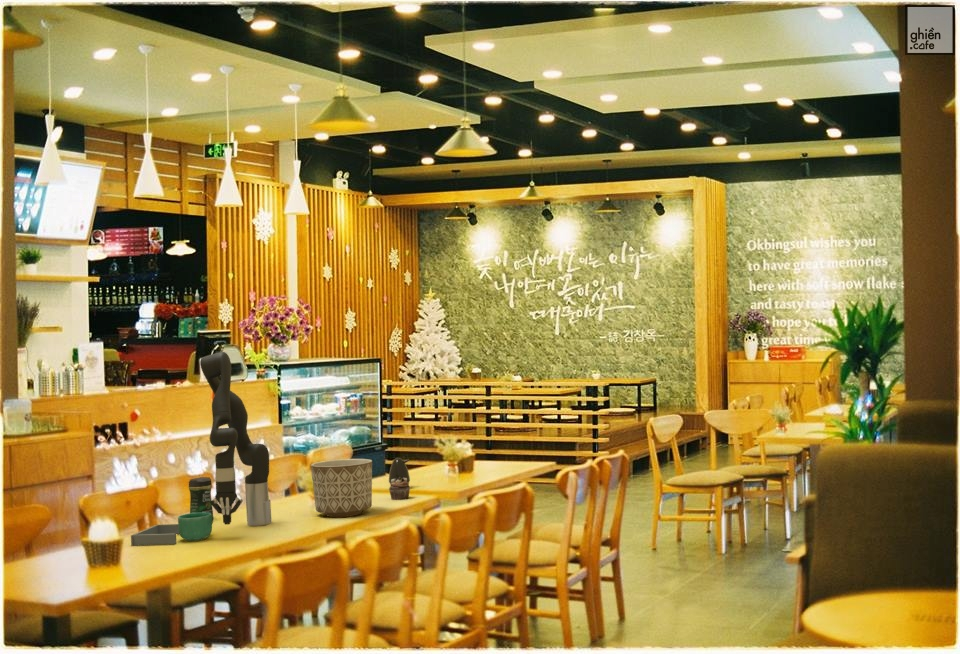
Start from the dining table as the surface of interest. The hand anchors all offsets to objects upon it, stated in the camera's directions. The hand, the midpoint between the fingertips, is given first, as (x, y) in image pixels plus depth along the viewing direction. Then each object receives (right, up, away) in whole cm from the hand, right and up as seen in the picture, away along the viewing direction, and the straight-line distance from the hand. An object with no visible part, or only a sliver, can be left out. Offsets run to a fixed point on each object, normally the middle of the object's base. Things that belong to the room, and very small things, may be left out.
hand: (227, 524), depth 446 cm
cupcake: (+61, -2, +81) cm, 101 cm away
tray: (-25, -7, +4) cm, 26 cm away
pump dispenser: (+59, -3, +113) cm, 128 cm away
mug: (-11, -6, +2) cm, 13 cm away
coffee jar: (-21, -7, +47) cm, 52 cm away
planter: (+40, -3, +44) cm, 60 cm away
